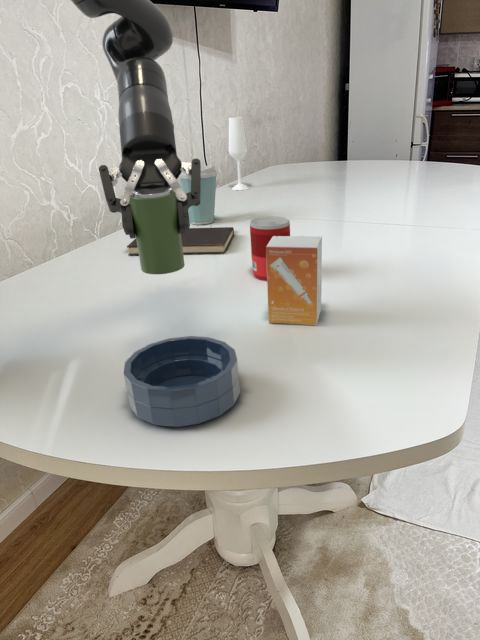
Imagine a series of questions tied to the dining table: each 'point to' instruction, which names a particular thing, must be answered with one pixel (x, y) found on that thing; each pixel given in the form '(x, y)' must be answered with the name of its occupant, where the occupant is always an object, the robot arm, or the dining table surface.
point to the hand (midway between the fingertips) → (157, 232)
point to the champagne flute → (237, 146)
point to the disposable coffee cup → (202, 196)
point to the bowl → (182, 380)
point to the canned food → (265, 240)
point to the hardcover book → (199, 241)
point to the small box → (294, 279)
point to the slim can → (157, 229)
